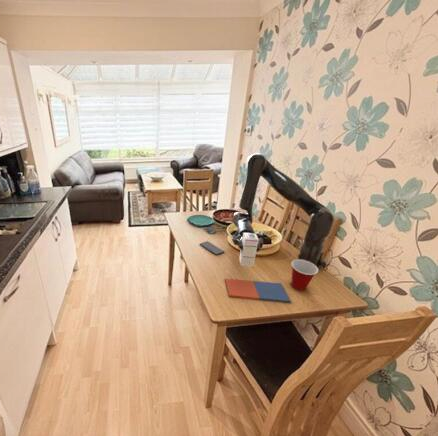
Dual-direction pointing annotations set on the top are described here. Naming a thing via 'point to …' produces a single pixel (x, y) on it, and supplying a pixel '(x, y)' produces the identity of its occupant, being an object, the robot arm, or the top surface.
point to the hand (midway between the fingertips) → (249, 249)
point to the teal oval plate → (203, 222)
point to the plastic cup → (302, 273)
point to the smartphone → (212, 248)
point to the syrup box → (248, 249)
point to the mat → (257, 290)
